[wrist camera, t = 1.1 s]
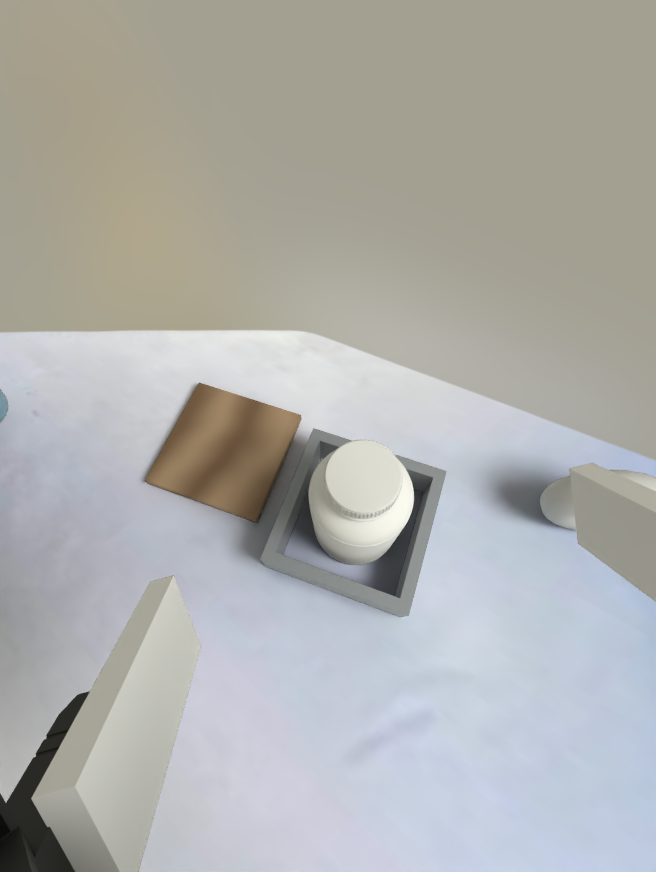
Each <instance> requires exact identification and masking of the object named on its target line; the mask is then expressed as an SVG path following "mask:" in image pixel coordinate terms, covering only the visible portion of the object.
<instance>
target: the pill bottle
mask: <svg viewBox="0 0 656 872" xmlns="http://www.w3.org/2000/svg"><path fill="white" fill-rule="evenodd" d="M413 504H414V490H413V485H412V481H411V478H410V476H409V474H408V472H407V470H406V469H405V467H404V466H403V464H402V463H401V462H400V461H399V460H398V459H397V458H396V456H395V455H394V454H393V452H391V450H389V449H388V448H387V447H385V446H384V445H381V444H380V443H377V442H374V441H370V440H356V441H355V440H354V441H350V442H348V443H345V444H343V445H342V446H340V447H339V448H337V449H336V450H335V451H333V452H331V453H330V454H329V455H327V456H326V457H325V458H324V459H323V460H322V461H321V462H320V463H319V465H318V466H317V467H316V469H315V471H314V473H313V475H312V477H311V481H310V485H309V505H310V510H311V515H312V520H313V525H314V530H315V534H316V537H317V540H318V542H319V544H320V545H321V547H322V548H323V549H324V551H325V552H326V553H327V554H328V555H330V556H331V557H332V558H334V559H335V560H337V561H339V562H342V563H345V564H349V565H363V564H367V563H370V562H373V561H375V560H377V559H379V558H380V557H381V556H383V555H384V554H385V553H386V552H387V551H388V549H389V548H390V547H391V545H392V544H393V542H394V541H395V539H396V538H397V537H398V535H399V534H400V532H401V531H402V529H403V528H404V526H405V525H406V523H407V522H408V520H409V518H410V515H411V512H412V509H413Z"/></svg>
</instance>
